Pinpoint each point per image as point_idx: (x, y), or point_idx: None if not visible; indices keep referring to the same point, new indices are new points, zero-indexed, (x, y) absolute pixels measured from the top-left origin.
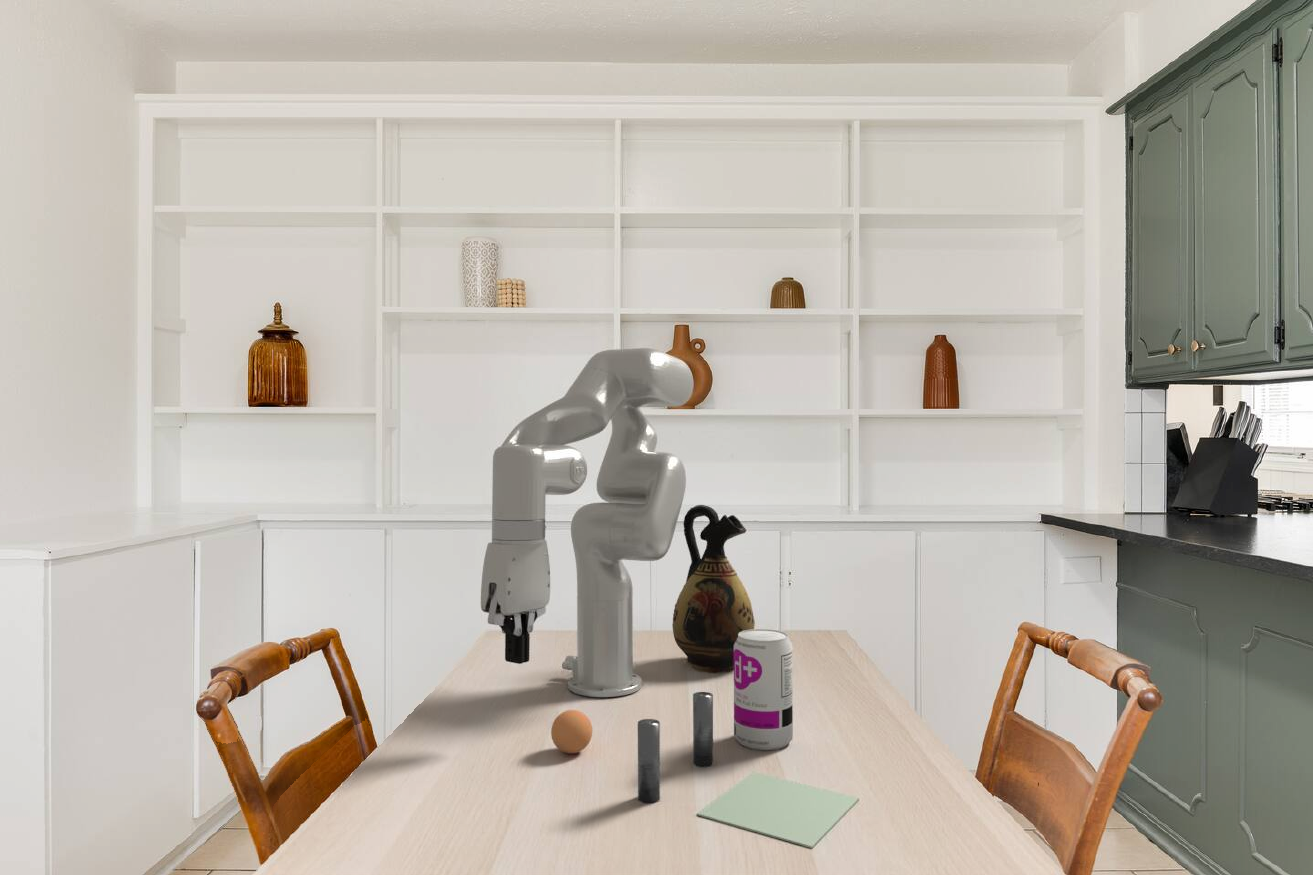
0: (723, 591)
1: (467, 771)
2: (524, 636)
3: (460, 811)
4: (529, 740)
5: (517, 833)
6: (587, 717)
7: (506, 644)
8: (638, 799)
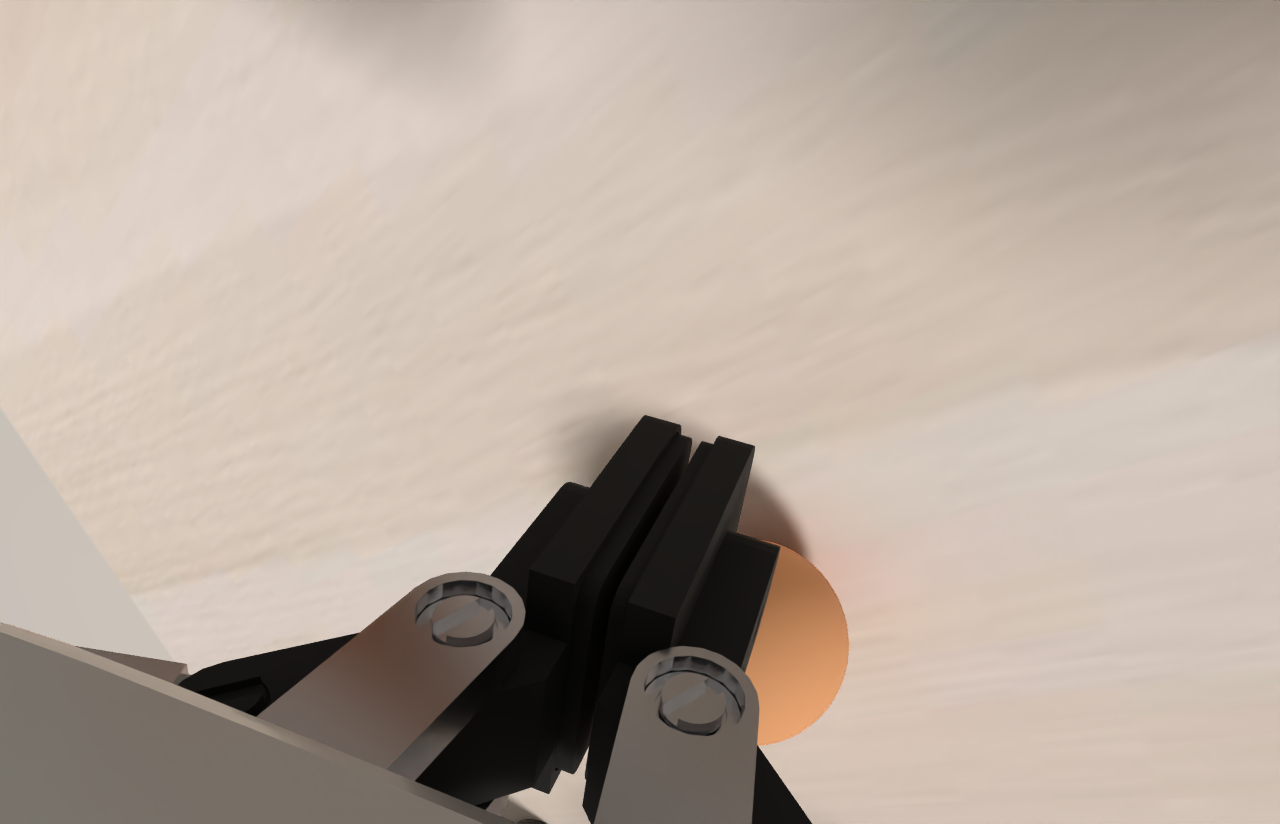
0: None
1: (420, 268)
2: (553, 780)
3: (220, 413)
4: (833, 352)
5: (236, 597)
6: (771, 743)
7: (523, 542)
8: (521, 821)
